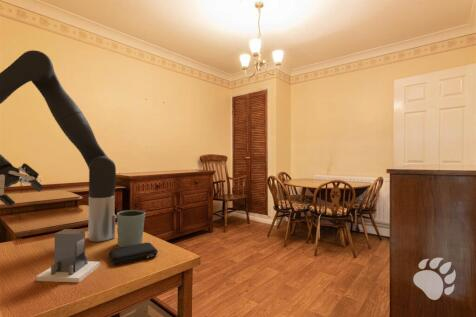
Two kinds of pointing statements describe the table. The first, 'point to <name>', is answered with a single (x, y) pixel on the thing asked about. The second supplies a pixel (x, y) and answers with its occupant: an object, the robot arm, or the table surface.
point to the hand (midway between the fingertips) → (27, 197)
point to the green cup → (130, 227)
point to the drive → (69, 250)
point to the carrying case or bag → (132, 253)
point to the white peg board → (68, 273)
